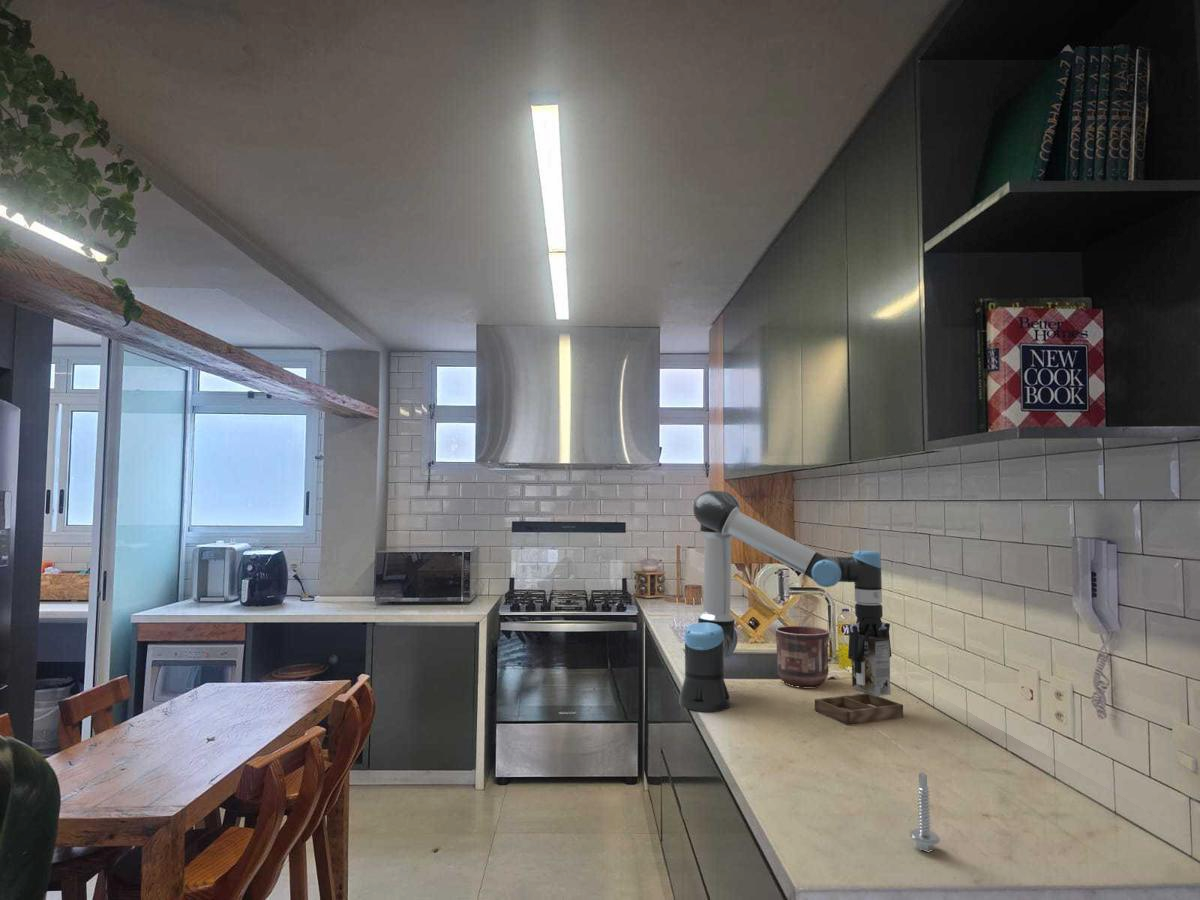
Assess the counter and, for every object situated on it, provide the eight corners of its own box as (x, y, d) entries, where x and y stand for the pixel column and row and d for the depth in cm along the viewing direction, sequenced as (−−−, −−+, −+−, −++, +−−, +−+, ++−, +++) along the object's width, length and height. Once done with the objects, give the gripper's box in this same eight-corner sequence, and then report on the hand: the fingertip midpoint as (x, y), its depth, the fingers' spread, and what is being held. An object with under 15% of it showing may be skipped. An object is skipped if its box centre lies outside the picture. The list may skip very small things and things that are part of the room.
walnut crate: (847, 725, 188) (847, 712, 188) (814, 711, 200) (814, 699, 200) (903, 717, 195) (902, 704, 195) (868, 704, 207) (868, 692, 208)
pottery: (834, 692, 221) (833, 635, 223) (778, 689, 224) (778, 633, 226) (825, 679, 239) (824, 626, 240) (773, 676, 241) (773, 624, 243)
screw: (938, 858, 116) (907, 850, 119) (942, 846, 121) (912, 839, 123) (935, 779, 118) (905, 773, 120) (939, 770, 122) (910, 764, 124)
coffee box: (851, 689, 202) (849, 633, 204) (867, 687, 205) (865, 632, 206) (875, 697, 194) (873, 639, 195) (891, 694, 197) (890, 637, 198)
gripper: (851, 606, 195) (853, 689, 193) (903, 603, 202) (906, 683, 200) (833, 603, 202) (835, 683, 200) (884, 600, 209) (887, 677, 207)
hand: (870, 683), depth 200 cm, fingers closed on coffee box, 7 cm apart
